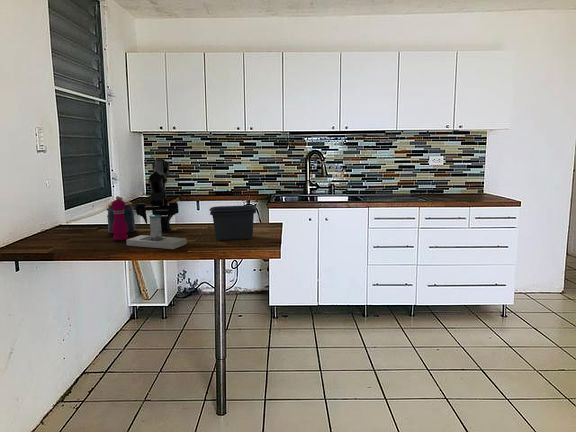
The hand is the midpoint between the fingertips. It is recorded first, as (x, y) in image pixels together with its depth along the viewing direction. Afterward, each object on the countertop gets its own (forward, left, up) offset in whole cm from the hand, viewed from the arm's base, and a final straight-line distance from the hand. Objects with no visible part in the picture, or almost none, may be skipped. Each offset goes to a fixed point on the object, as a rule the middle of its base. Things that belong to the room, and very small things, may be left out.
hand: (157, 223), depth 207 cm
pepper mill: (-20, -1, -8) cm, 22 cm away
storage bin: (+30, +17, -8) cm, 35 cm away
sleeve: (+4, -6, -8) cm, 11 cm away
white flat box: (+4, -6, -8) cm, 11 cm away
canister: (-31, +13, -8) cm, 35 cm away
